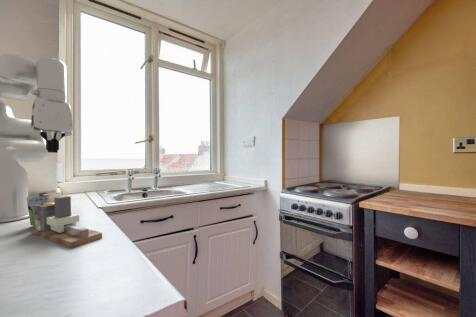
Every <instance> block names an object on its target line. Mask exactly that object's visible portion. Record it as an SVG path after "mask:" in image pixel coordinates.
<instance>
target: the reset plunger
mask: <svg viewBox="0 0 476 317" xmlns="http://www.w3.org/2000/svg"><path fill="white" fill-rule="evenodd" d="M54 204H55V203H54V201H50V203H45V204H43V205H44V206H48V205H54Z"/></svg>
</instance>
